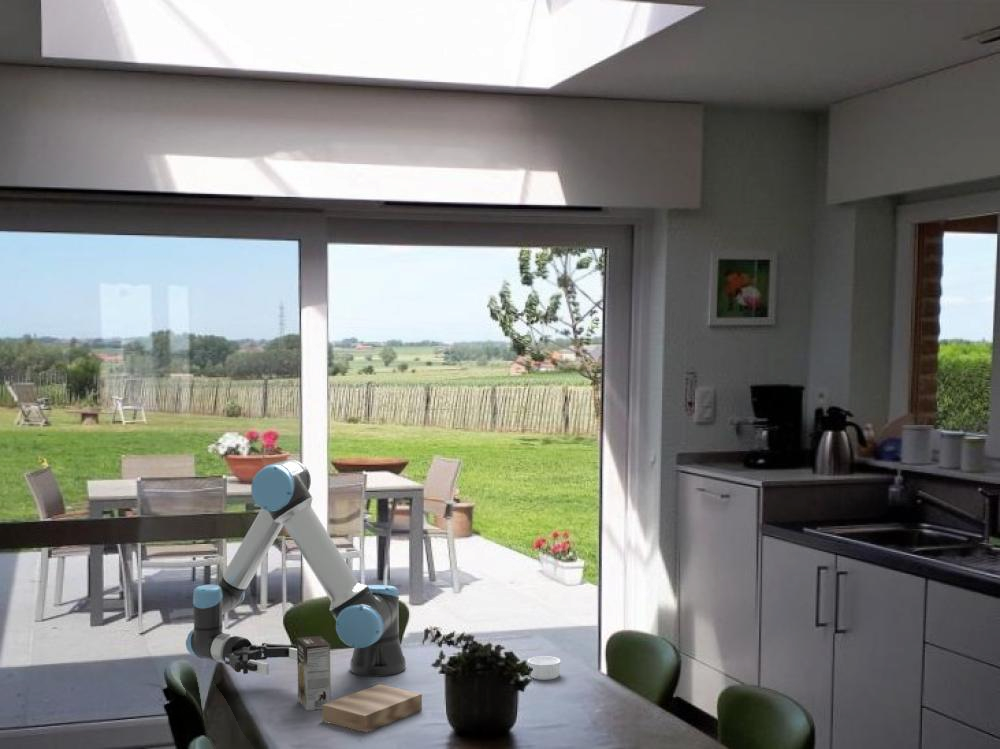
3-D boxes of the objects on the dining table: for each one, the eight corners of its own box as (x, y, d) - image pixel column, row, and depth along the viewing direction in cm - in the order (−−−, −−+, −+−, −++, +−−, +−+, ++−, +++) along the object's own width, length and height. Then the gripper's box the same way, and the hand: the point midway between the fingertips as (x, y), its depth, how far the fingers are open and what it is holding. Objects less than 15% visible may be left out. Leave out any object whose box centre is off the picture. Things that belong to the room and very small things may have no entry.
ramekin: (526, 671, 325) (526, 656, 324) (559, 671, 325) (559, 655, 325) (528, 681, 316) (528, 665, 316) (562, 680, 316) (562, 664, 316)
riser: (379, 699, 301) (379, 684, 301) (421, 710, 292) (421, 694, 292) (322, 721, 285) (322, 704, 285) (365, 732, 277) (365, 715, 276)
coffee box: (297, 701, 301) (296, 637, 300) (322, 697, 303) (321, 634, 303) (306, 711, 292) (304, 646, 292) (331, 708, 295) (330, 643, 294)
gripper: (268, 653, 326) (323, 666, 313) (194, 675, 306) (250, 689, 293) (267, 626, 326) (323, 637, 313) (194, 646, 306) (249, 659, 293)
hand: (288, 663), depth 303 cm, fingers open, 13 cm apart
